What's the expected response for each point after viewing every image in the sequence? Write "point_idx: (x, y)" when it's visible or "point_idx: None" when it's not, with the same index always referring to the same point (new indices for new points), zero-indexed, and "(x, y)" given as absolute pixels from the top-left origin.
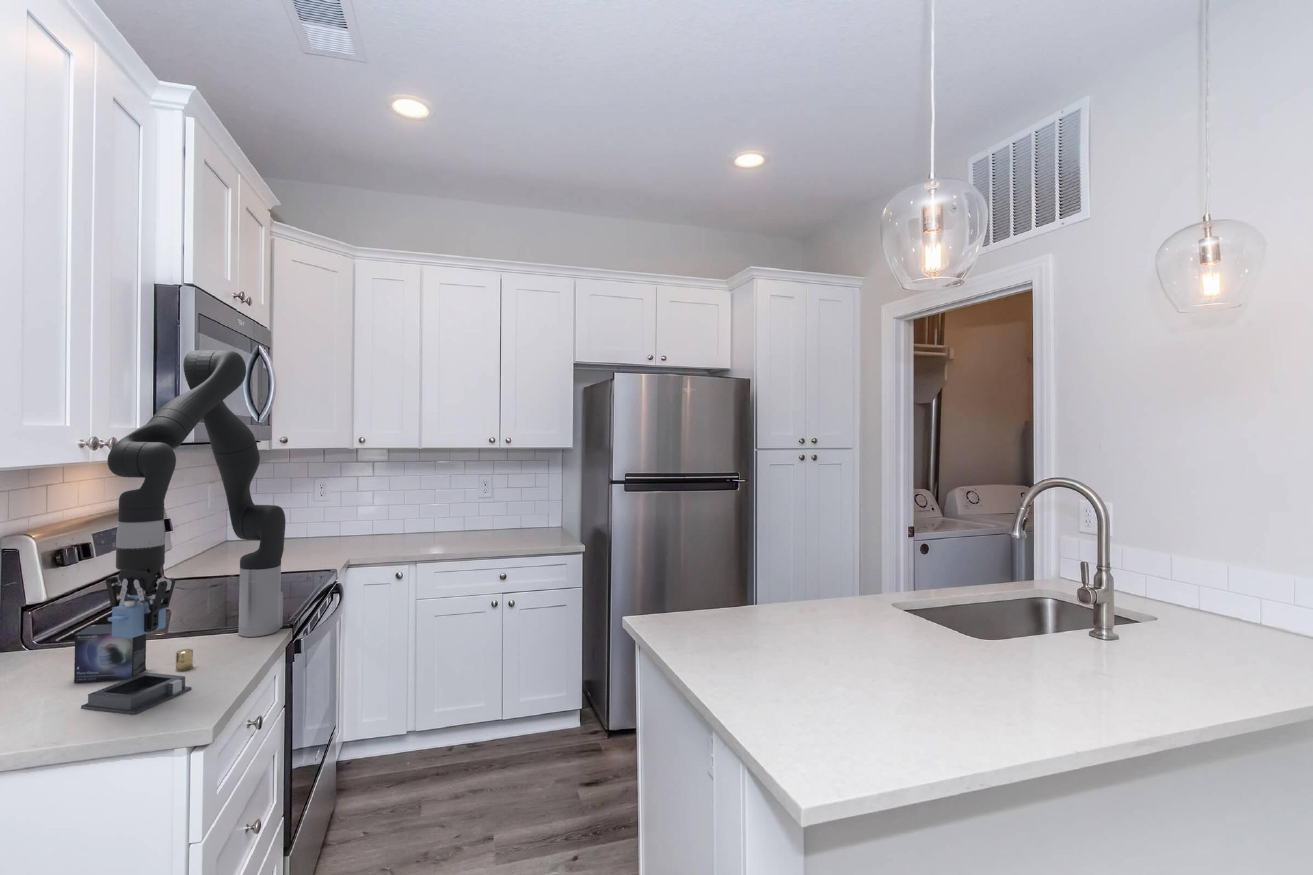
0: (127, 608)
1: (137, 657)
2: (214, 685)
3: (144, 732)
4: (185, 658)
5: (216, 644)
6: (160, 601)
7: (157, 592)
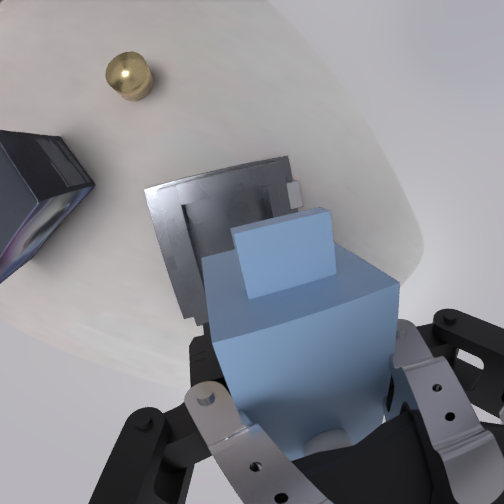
0: None
1: (64, 169)
2: (308, 120)
3: None
4: (145, 80)
5: None
6: (476, 372)
7: (495, 409)
